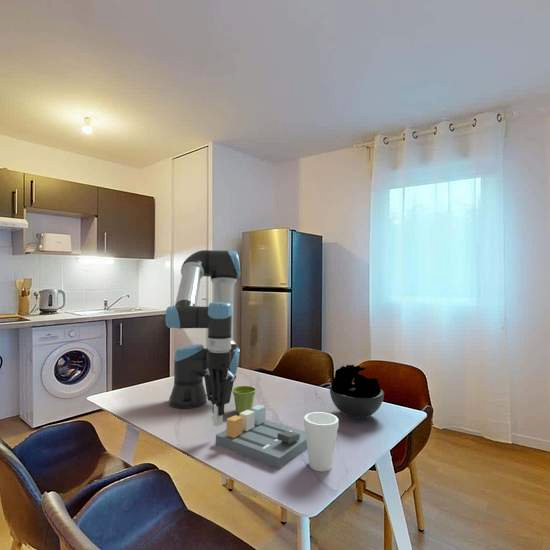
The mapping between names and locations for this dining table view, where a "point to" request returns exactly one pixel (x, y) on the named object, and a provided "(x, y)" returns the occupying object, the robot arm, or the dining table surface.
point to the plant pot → (243, 398)
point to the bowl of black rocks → (355, 392)
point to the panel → (265, 443)
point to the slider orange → (234, 426)
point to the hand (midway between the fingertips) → (218, 424)
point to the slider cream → (247, 419)
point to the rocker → (288, 436)
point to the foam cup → (320, 439)
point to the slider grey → (259, 414)
